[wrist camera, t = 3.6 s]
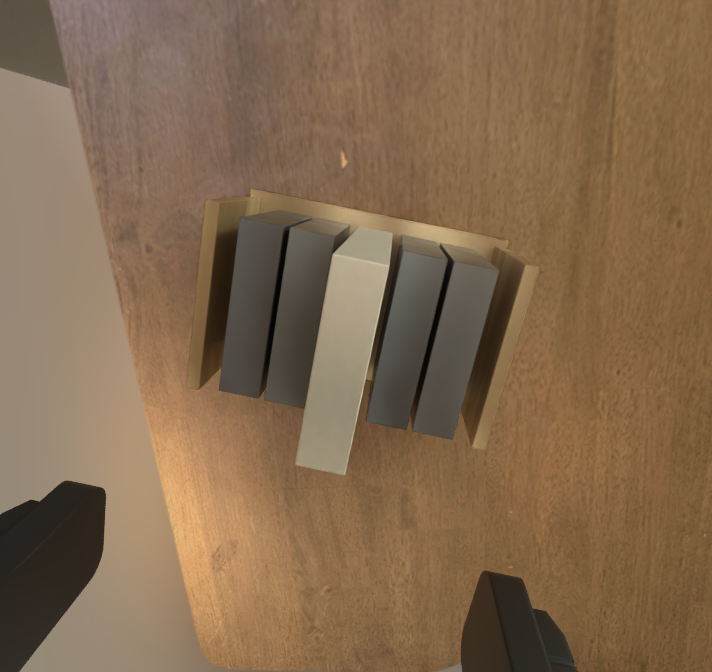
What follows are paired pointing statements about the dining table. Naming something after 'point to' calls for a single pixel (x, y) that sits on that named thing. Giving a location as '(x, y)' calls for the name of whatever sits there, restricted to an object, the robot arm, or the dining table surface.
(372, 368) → the grey rack
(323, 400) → the white book
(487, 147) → the dining table surface
